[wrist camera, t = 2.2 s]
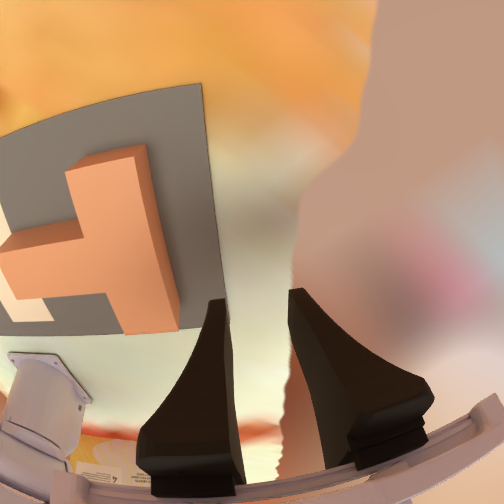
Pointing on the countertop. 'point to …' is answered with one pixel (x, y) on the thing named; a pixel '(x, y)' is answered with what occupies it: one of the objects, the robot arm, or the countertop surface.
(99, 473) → the pasta box
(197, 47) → the countertop surface
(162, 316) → the t block
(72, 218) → the slate mat
